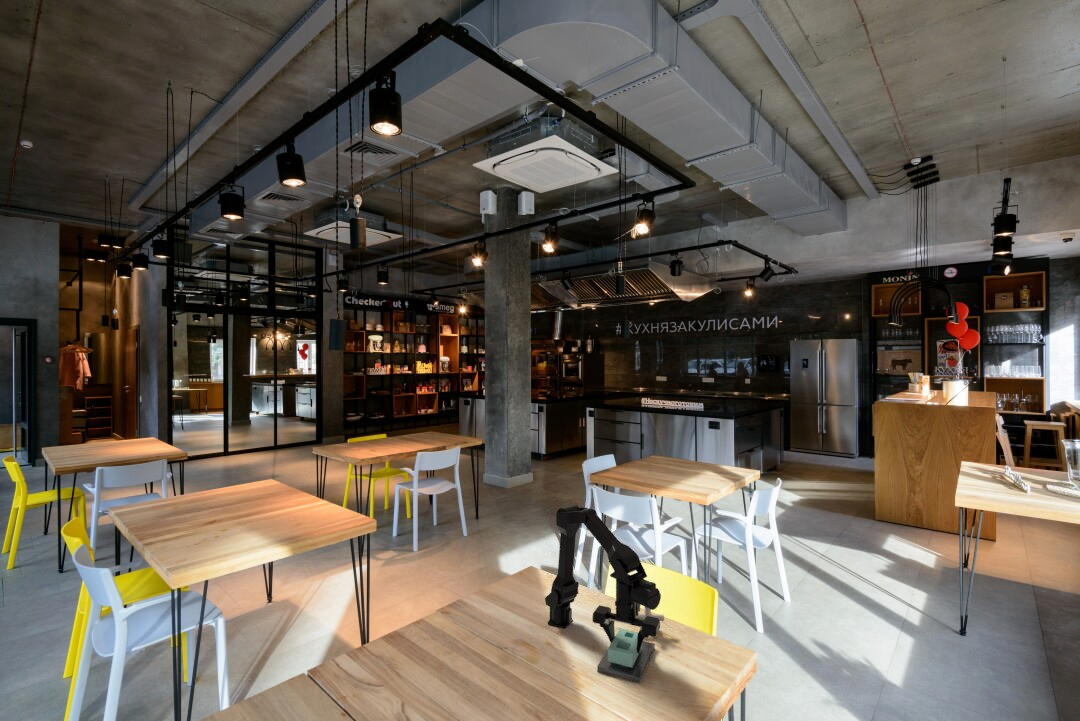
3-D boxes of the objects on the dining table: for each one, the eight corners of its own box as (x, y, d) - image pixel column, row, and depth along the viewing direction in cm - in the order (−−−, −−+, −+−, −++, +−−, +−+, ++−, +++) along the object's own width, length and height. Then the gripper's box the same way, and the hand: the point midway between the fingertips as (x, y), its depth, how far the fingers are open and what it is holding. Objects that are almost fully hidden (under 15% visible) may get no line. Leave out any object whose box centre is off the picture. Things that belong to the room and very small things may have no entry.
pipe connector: (661, 625, 167) (661, 594, 167) (666, 642, 157) (665, 609, 157) (630, 623, 168) (630, 593, 168) (633, 640, 158) (633, 608, 158)
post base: (597, 671, 143) (597, 657, 142) (616, 639, 159) (616, 626, 159) (639, 683, 137) (639, 668, 137) (654, 648, 154) (654, 635, 154)
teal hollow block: (632, 667, 140) (632, 655, 140) (607, 661, 143) (607, 648, 143) (642, 645, 151) (642, 633, 151) (620, 639, 154) (620, 628, 154)
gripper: (664, 590, 150) (664, 643, 150) (603, 578, 158) (603, 628, 158) (655, 607, 140) (655, 663, 140) (591, 594, 148) (591, 647, 148)
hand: (625, 649), depth 147 cm, fingers closed on teal hollow block, 7 cm apart
